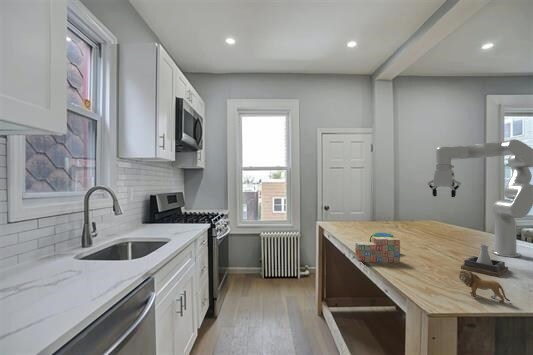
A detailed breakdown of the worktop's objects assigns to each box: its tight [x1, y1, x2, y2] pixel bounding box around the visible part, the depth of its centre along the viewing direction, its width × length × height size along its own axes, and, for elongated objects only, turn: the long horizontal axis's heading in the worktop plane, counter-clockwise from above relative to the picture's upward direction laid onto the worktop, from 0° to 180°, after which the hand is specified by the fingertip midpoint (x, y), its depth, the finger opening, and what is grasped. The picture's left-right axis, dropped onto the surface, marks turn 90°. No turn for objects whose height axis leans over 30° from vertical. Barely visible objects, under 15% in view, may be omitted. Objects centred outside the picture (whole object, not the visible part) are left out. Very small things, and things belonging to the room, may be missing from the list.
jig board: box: [460, 255, 509, 278], centre depth 132 cm, size 16×14×4 cm
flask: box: [477, 244, 493, 265], centre depth 132 cm, size 7×7×10 cm
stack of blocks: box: [354, 236, 401, 264], centre depth 147 cm, size 21×6×12 cm, turn 87°
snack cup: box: [369, 232, 397, 242], centre depth 167 cm, size 16×11×10 cm
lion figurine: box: [458, 269, 511, 304], centre depth 101 cm, size 15×5×9 cm, turn 55°
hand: (443, 196), depth 162 cm, fingers open, 9 cm apart
